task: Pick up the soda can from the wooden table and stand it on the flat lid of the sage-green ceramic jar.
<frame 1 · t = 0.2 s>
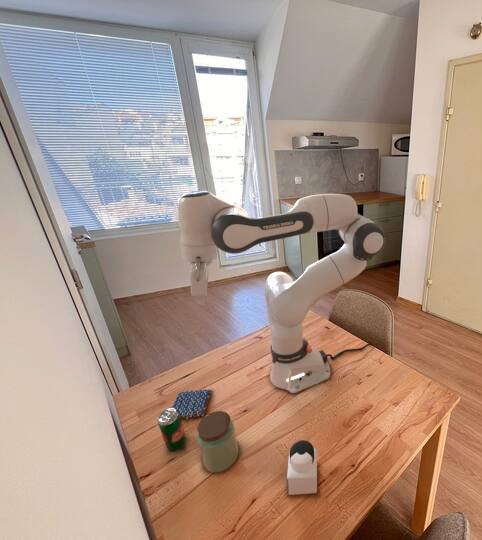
hand: (202, 295, 86), 39 cm above the table, tool pointing down, fingers open, 8 cm apart
woven mat: (192, 406, 97), on the table
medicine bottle: (303, 480, 77), on the table
jar: (221, 455, 82), on the table
soda can: (177, 444, 85), on the table
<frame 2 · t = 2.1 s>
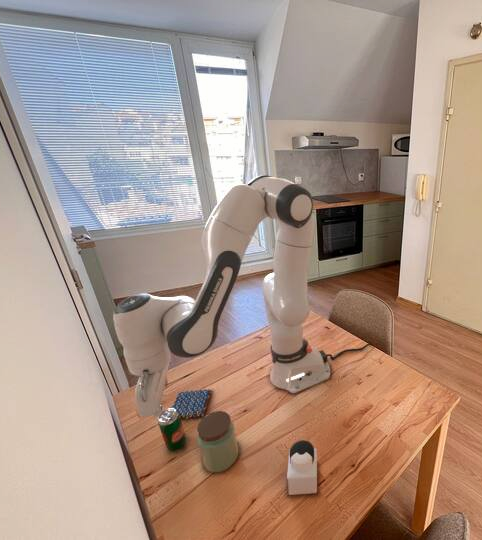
hand: (161, 398, 77), 18 cm above the table, tool pointing down, fingers open, 8 cm apart
nothing on the table moved.
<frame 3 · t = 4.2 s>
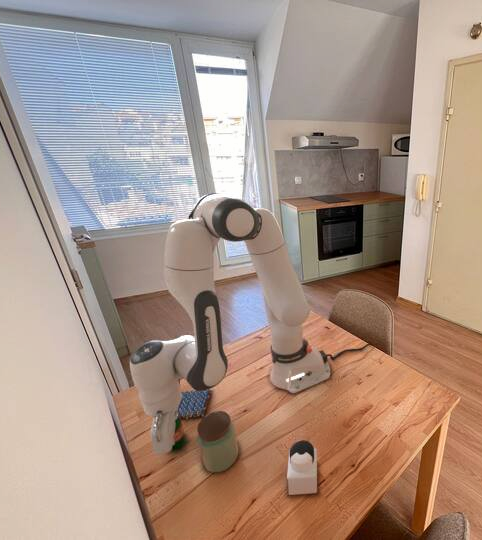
hand: (173, 433, 83), 5 cm above the table, tool pointing down, fingers closed on soda can, 5 cm apart
soda can: (177, 444, 85), on the table, touching gripper
everything else where it was.
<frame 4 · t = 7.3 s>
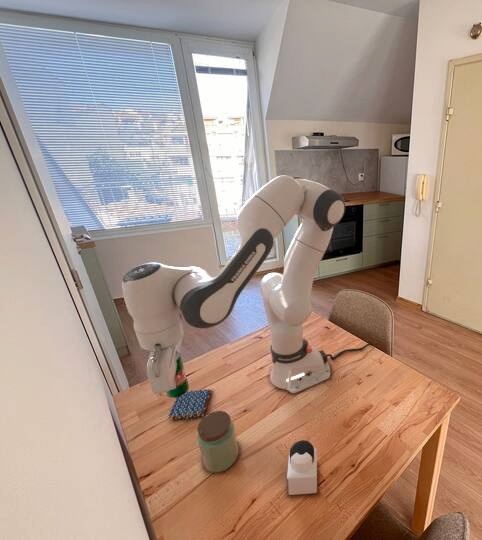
hand: (174, 377, 73), 27 cm above the table, tool pointing down, fingers closed on soda can, 5 cm apart
soda can: (178, 391, 75), point 22 cm above the table, touching gripper
everything else where it was.
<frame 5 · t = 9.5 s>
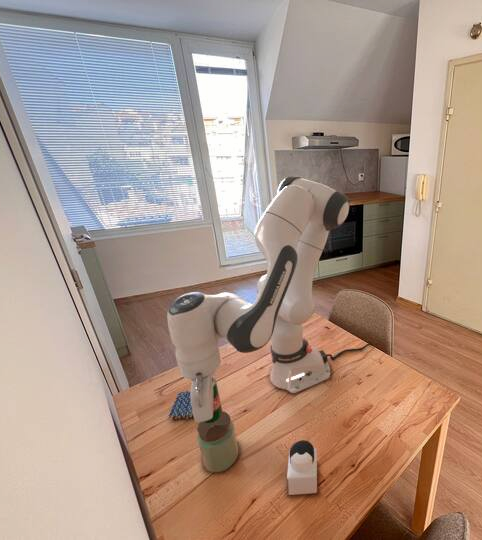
hand: (209, 402, 73), 21 cm above the table, tool pointing down, fingers closed on soda can, 5 cm apart
soda can: (212, 416, 75), point 16 cm above the table, touching gripper
everything else where it was.
when the fingers open (17 cm above the table, at t = 10.8 s): soda can stays where it is, resting on jar.
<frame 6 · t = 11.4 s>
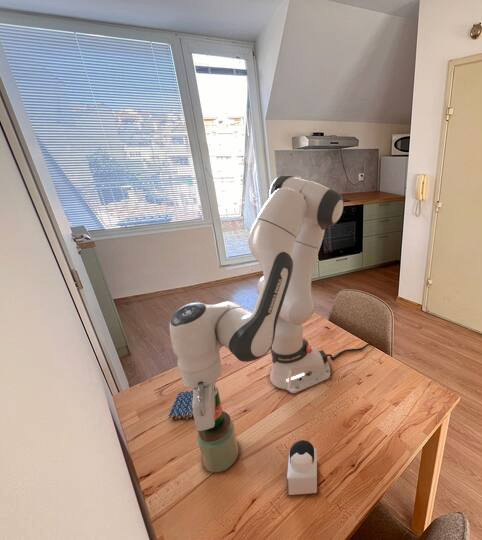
hand: (211, 410, 75), 18 cm above the table, tool pointing down, fingers open, 8 cm apart
soda can: (214, 424, 77), point 13 cm above the table, touching jar
everything else where it was.
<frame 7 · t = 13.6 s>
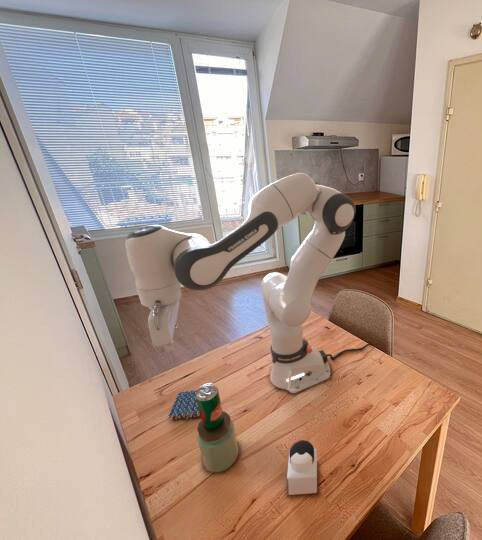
hand: (172, 338, 77), 33 cm above the table, tool pointing down, fingers open, 8 cm apart
nothing on the table moved.
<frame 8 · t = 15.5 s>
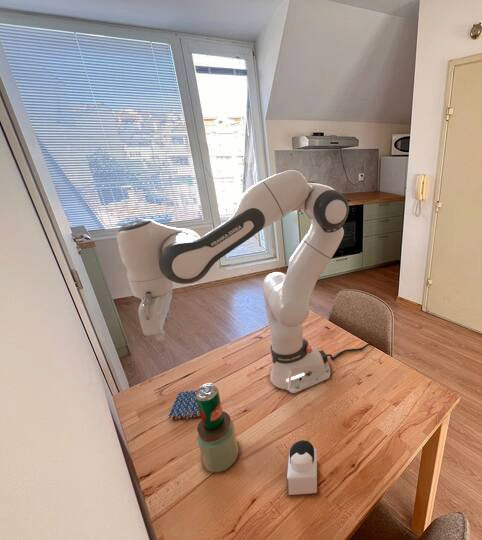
hand: (164, 328, 80), 33 cm above the table, tool pointing down, fingers open, 8 cm apart
nothing on the table moved.
at the end: soda can 0.0 cm off-centre on the jar, point 12.8 cm above the jar's base; soda can tilted 0°; the gripper is holding nothing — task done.
